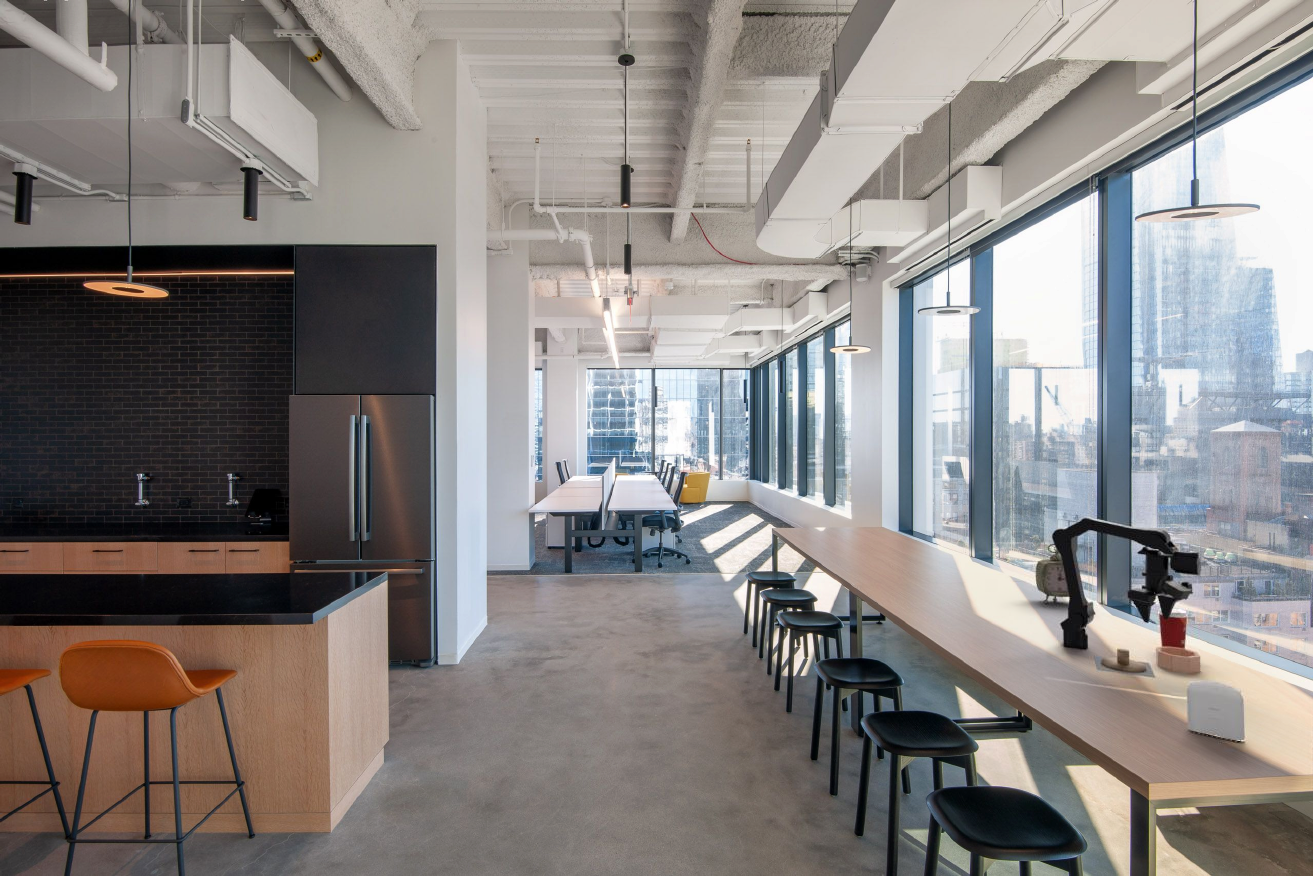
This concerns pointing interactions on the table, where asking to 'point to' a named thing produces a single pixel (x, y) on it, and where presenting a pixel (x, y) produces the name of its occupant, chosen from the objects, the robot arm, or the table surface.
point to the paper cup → (1173, 628)
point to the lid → (1123, 662)
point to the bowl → (1178, 659)
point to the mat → (1101, 667)
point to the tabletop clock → (1051, 577)
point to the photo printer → (1215, 709)
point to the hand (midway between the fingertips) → (1156, 621)
